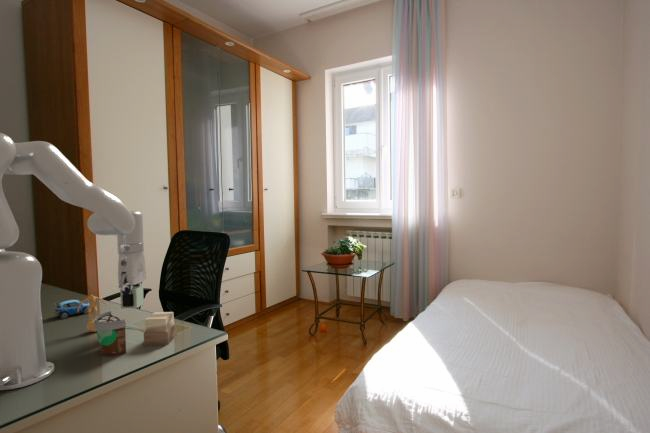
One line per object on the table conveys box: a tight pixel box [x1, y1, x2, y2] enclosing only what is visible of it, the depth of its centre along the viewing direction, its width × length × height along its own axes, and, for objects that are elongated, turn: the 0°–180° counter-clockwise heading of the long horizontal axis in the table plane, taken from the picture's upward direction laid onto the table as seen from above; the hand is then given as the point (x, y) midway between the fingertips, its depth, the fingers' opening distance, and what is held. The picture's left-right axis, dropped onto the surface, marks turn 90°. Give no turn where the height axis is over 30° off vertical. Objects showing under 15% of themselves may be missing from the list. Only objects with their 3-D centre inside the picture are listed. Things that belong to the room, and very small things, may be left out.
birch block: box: [144, 311, 175, 332], centre depth 114 cm, size 6×6×4 cm
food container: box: [93, 311, 127, 357], centre depth 107 cm, size 12×6×10 cm, turn 47°
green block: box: [119, 285, 145, 309], centre depth 123 cm, size 5×5×6 cm
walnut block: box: [143, 323, 178, 346], centre depth 115 cm, size 7×7×4 cm
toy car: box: [53, 299, 94, 320], centre depth 142 cm, size 6×12×6 cm, turn 133°
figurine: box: [77, 294, 108, 333], centre depth 124 cm, size 8×6×12 cm
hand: (132, 303), depth 123 cm, fingers closed on green block, 5 cm apart
